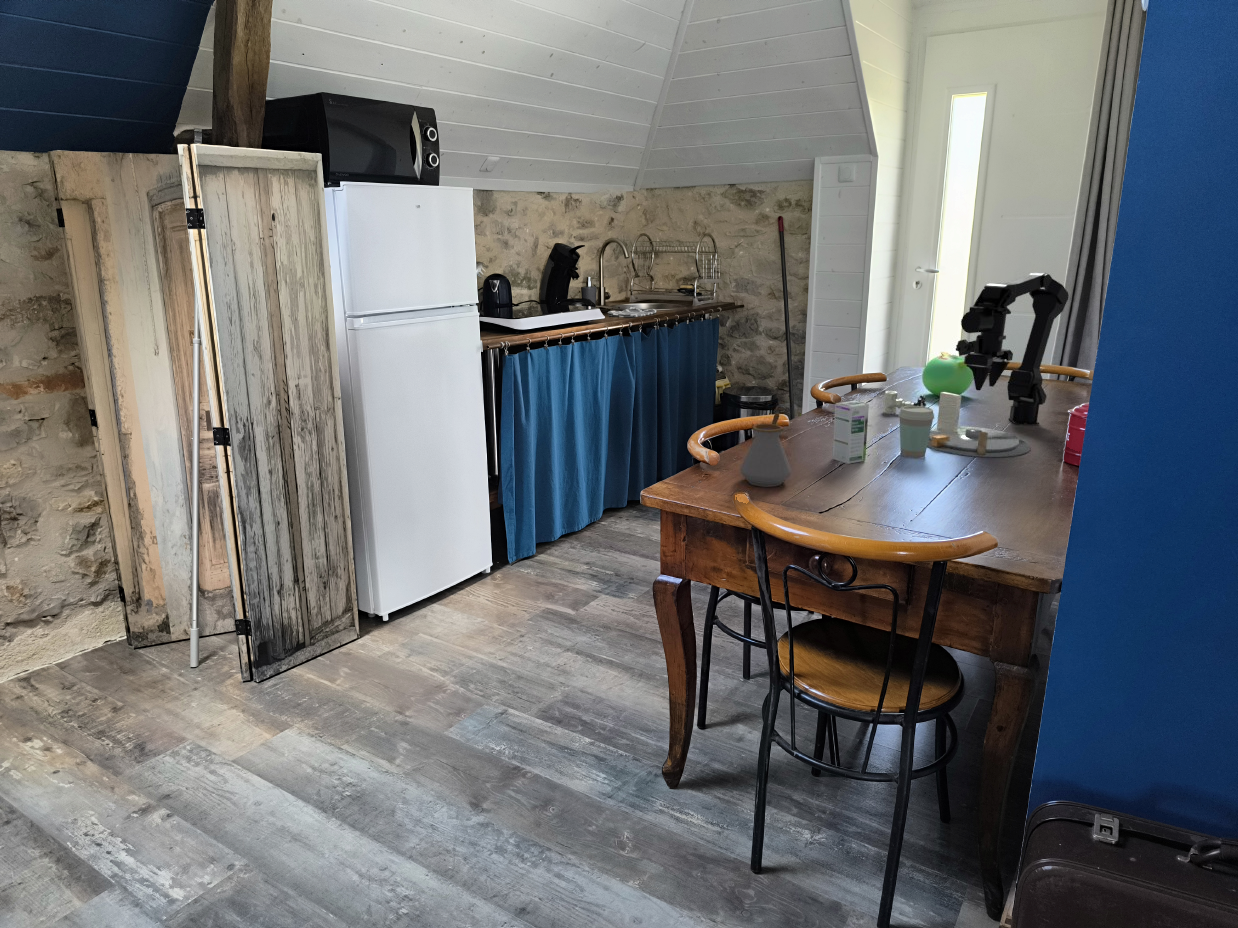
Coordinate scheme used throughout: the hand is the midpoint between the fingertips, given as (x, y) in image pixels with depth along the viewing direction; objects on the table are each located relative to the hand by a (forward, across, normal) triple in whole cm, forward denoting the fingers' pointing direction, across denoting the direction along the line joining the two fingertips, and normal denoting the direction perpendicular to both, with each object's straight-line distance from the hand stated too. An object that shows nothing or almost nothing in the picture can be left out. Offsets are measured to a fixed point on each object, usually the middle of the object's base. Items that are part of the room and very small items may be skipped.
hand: (984, 388), depth 228 cm
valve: (+13, -7, -26) cm, 30 cm away
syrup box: (+14, +50, -12) cm, 53 cm away
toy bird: (+12, -42, -28) cm, 52 cm away
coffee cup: (+14, +35, -2) cm, 38 cm away
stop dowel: (+13, +24, +10) cm, 29 cm away
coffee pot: (+15, +74, -19) cm, 78 cm away
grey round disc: (+13, +13, +4) cm, 19 cm away
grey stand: (+12, +14, +3) cm, 19 cm away
